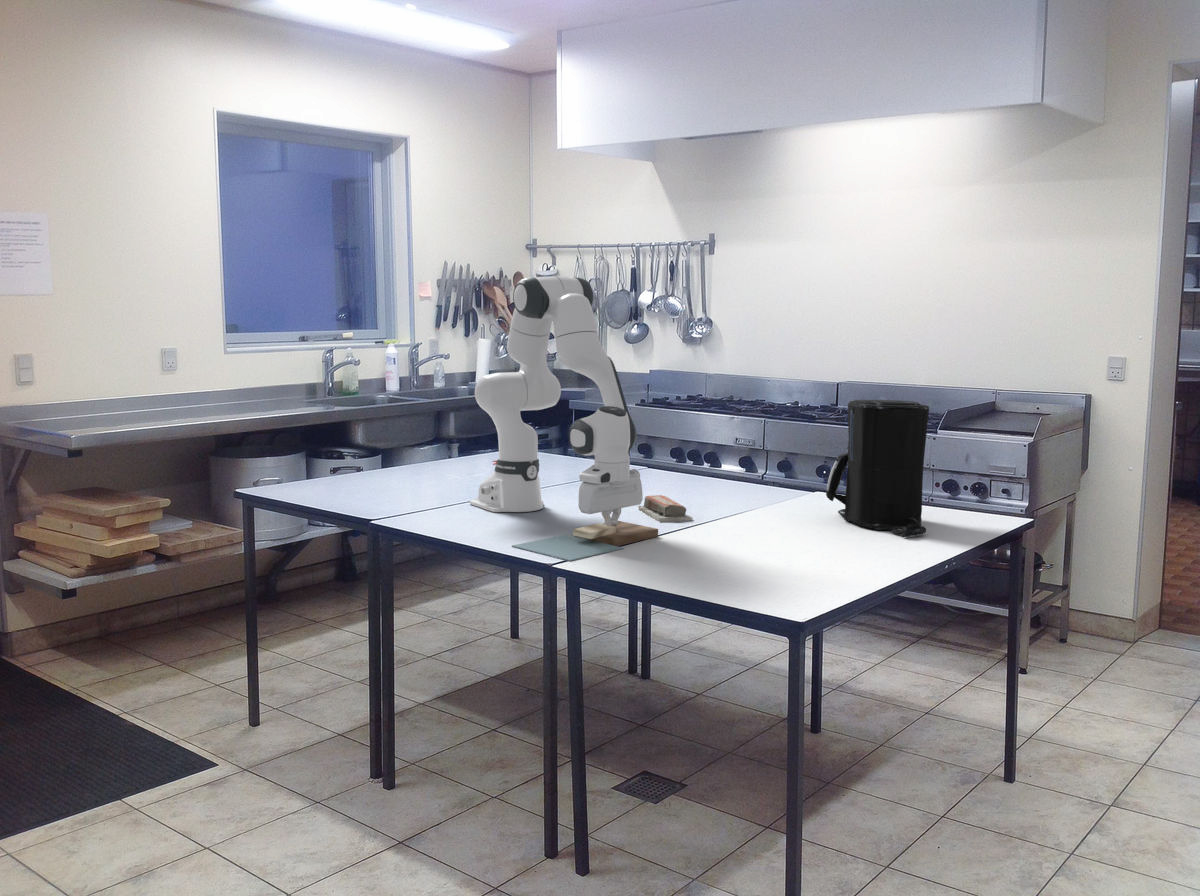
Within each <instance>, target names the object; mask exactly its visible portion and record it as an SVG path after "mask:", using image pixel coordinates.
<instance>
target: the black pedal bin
mask: <svg viewBox="0 0 1200 896" xmlns="http://www.w3.org/2000/svg"><path fill="white" fill-rule="evenodd" d="M929 412H930V406H928V405H926V404H921V403H919V402H917V401H911V400H894V399H893V400H892V399H891V400H890V399H851V400H850V401H848V403H847V419H848V420H847V421H848V422H847V424H848V425H847V426H848V429H847V430H848V445H847V448H846V449H847V452H846V453H841V454H838V456H837V457H836V459H835V461H834V464H833V465H832V467H831V469H830V472H829V476H828V480H827V485H826V492H825V496H826V498H827V499H828V500H830V501H831V502H833V501H834V499H836V500H837V501H839V502H840V503H841V504H843V505H844V508H841V509H838V510H837V513H838V514H839V515H840V516H842V517H843V518H844V519H843V520H844V521H845V522H850V523H852V524H856V525H858V526H861V527H864V528H867V529H874V530H877V531H892V534H895V535H898V536H899V535H901V538H904V537H906V538H907V537H912V536H918V535H924V534H925V533H926V532H927V528H926V527H925V526H922V511H923V483H924V482H923V481H924V479H923V478H924V464H925V451H926V443H927V434H928V425H929V424H928V422H929V414H930V413H929ZM846 467H847V471H846V472H847V475H846V476H847V477H846V487H845V495H842V494H839V493H838V494H837V492H838V488H839V487H840V485H841V484H840V483H841V481H842V478H843V475H844V472H845V470H846ZM913 529H917V530H913Z"/></svg>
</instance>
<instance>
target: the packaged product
mask: <svg viewBox="0 0 1200 896" xmlns="http://www.w3.org/2000/svg"><path fill="white" fill-rule="evenodd" d="M637 506H638V511H640V512H641V511H642V513H643V514H644V513H645V515H646V516H647V517H649V516H650V517H649V518H651V519H653V520H654V519H655V521H656V520H657V522H658V521H659V522H658V523H667V522H668V523H669V522H670V523H671V521H672V522H685V521H686V522H688V521H689V520H691V521H693V518H694V517H693V516H691V515H688V514H687V513H686V512H687V507H685V506H684V505H683V504H680V503H678V502H676V501H675V500H673V499H671V498H669V496H666V495H661V494H660V495H655V494H654V495H647V496H645V497H644V502H643V505H637Z"/></svg>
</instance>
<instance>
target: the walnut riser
mask: <svg viewBox="0 0 1200 896" xmlns="http://www.w3.org/2000/svg"><path fill="white" fill-rule="evenodd" d="M603 524H605V522H603ZM615 527H616V533H613V534H609V535H605V536H601V537H598V538H594V539H588V540H592V541H597V542H601V543H605V544H610V545H614V546H618V547H621V546H625V545H628V544H632V543H637V542H642V541H645V540H649V539H653V538H657V537H659V528H656V527H650V526H647V525H642V524H641V525H640V524H638V523H637V524H636V523H631V522H626V521H621V520H618V525H617V526H615ZM575 537H578V536H575ZM579 538H583V537H579ZM583 539H587V538H583Z"/></svg>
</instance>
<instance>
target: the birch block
mask: <svg viewBox="0 0 1200 896" xmlns="http://www.w3.org/2000/svg"><path fill="white" fill-rule="evenodd" d="M613 533H616V527H615V526H610V525H605V524H604V523H599V522H597V523H593V524H589V525H585V526H581V527H577V528H573V531H572V536H578V537H583V538H587V539H594V538H598V537H601V536H605V535H609V534H613Z"/></svg>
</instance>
